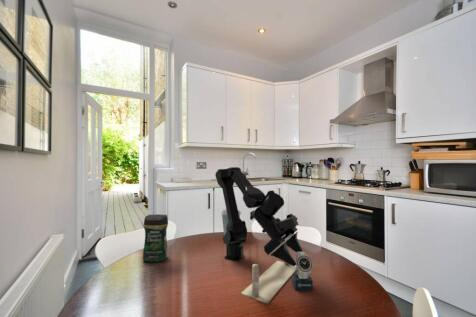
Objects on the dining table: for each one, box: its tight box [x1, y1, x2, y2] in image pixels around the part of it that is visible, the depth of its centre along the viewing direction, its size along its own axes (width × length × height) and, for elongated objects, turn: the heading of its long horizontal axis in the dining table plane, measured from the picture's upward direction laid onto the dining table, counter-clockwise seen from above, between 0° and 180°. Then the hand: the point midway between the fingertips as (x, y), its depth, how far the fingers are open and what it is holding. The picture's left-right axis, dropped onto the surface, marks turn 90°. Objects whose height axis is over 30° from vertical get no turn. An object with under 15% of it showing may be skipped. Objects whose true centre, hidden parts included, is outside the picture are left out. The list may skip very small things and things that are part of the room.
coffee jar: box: [142, 213, 169, 263], centre depth 98 cm, size 10×8×19 cm
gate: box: [240, 241, 297, 304], centre depth 81 cm, size 9×28×10 cm, turn 148°
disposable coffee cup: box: [220, 208, 242, 236], centre depth 128 cm, size 11×11×15 cm
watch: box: [291, 251, 314, 291], centre depth 76 cm, size 6×8×11 cm
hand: (299, 260), depth 76 cm, fingers open, 9 cm apart
